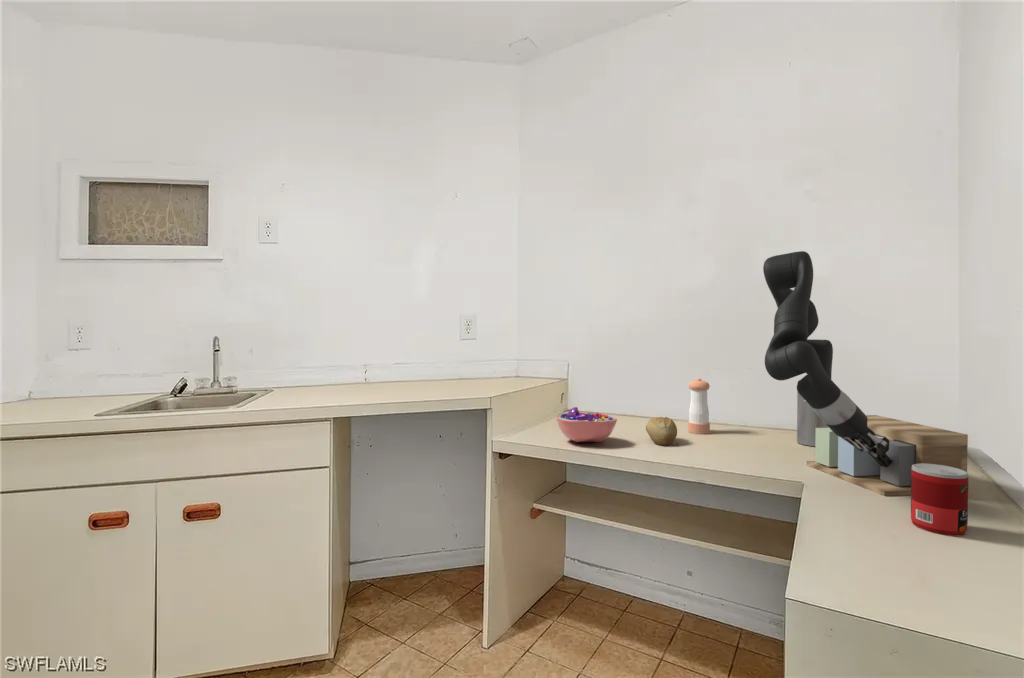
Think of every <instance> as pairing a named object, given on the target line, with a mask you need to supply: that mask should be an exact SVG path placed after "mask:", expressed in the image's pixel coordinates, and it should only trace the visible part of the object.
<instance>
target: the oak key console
mask: <svg viewBox="0 0 1024 678" xmlns="http://www.w3.org/2000/svg"><path fill="white" fill-rule="evenodd" d="M865 415H866V414H865ZM866 416H867V419H868V422H867V426H868V427H869V428H870V429H871V430H872V431H873V432H874V433H875V434H876V435H880V436H884V437H886V438H887V439H888V440H889V441H903V442H907V443H911V444H915V445H916V464H920V463H924V464H937V465H944V466H949V467H954V468H958V469H961V470H964V471H966V472H967V473H968V451H969V450H968V449H969V447H968V445H969V442H968V441H969V434H967V433H962V432H957V431H953V430H949V429H944V428H938V427H933V426H930V425H929V426H928V425H924V424H920V423H915V422H910V421H907V420H906V421H905V420H900V419H896V418H891V417H886V416H882V415H876V414H869V415H868V414H867V415H866ZM806 465H807V466H809V467H811V468H814V469H816V470H819V471H821V472H824V473H826V474H829V475H832V476H833V477H837V478H839V479H841V480H844V481H846V482H847V483H848V482H849V483H852V484H854V485H856V486H859V487H861V488H863V489H866V490H868V489H869V491H870V492H874V493H876V494H879V495H881V496H883V495H884V496H883V497H889V496H890V497H894V496H895V497H896V496H911V486H897V485H895V484H892V483H889V482H886V481H884V480H881V479H880V475H870V476H852V475H849V474H847V473H844V472H841V471H839V470H838V467H828V466H826V465H823V464H820V463H818V462H815V460H806Z"/></svg>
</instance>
